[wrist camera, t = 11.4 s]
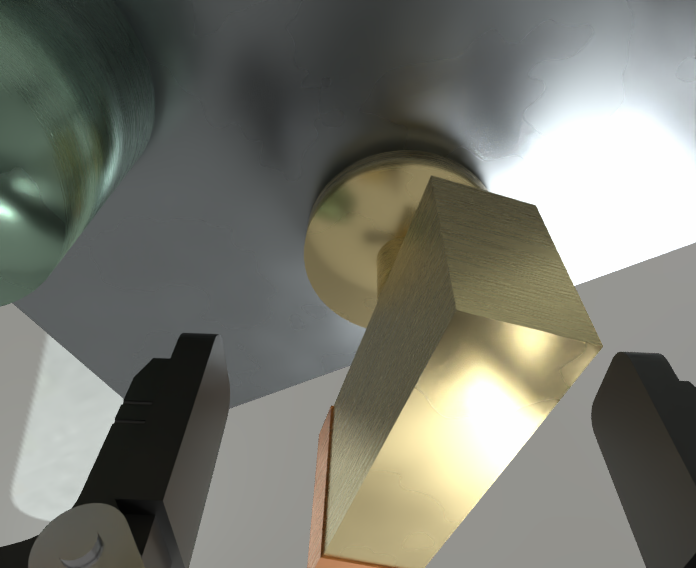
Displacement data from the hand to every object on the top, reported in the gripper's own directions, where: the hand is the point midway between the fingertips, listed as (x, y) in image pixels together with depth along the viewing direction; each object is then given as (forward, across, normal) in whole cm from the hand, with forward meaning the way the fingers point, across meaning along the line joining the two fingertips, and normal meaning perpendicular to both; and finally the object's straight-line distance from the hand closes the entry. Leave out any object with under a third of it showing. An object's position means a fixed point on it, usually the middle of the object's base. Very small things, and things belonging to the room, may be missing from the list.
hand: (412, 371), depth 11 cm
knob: (+5, 0, 0) cm, 5 cm away
